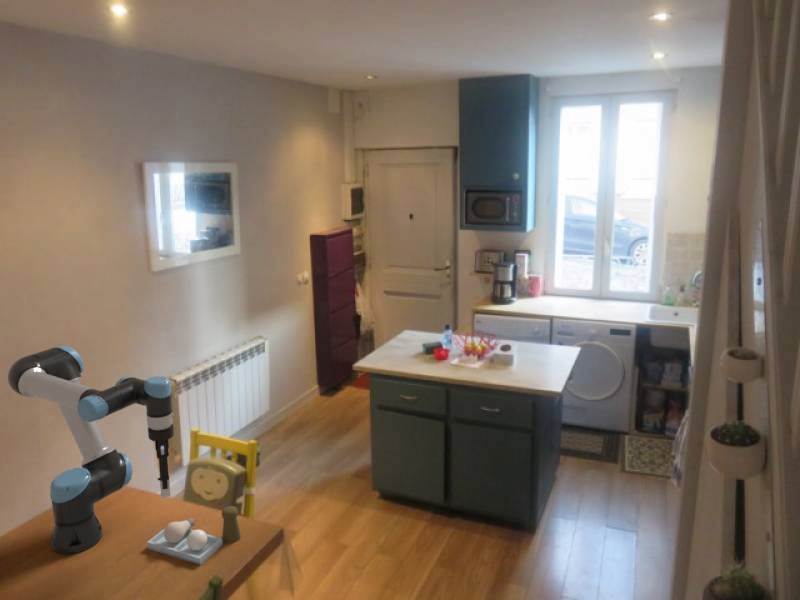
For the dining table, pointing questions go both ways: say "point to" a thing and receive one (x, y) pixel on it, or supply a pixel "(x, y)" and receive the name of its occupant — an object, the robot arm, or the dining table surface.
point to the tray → (185, 547)
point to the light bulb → (177, 530)
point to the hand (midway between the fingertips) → (164, 485)
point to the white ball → (197, 540)
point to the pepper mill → (230, 525)
